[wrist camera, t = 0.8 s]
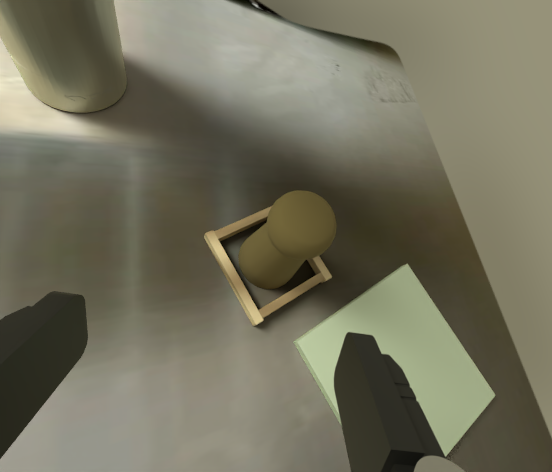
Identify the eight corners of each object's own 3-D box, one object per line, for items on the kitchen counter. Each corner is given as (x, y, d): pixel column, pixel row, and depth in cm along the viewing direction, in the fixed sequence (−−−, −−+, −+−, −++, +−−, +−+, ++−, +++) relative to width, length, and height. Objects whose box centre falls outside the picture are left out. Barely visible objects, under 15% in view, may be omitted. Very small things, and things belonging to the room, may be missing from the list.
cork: (296, 236, 33) (347, 185, 23) (295, 292, 31) (352, 262, 21) (240, 227, 31) (270, 169, 22) (235, 286, 29) (266, 251, 19)
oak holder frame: (204, 237, 30) (205, 233, 29) (280, 203, 34) (283, 198, 33) (253, 326, 28) (256, 324, 27) (327, 279, 32) (332, 277, 31)
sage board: (293, 341, 29) (297, 341, 28) (401, 266, 36) (407, 263, 35) (389, 510, 26) (397, 516, 25) (487, 394, 33) (495, 395, 32)
